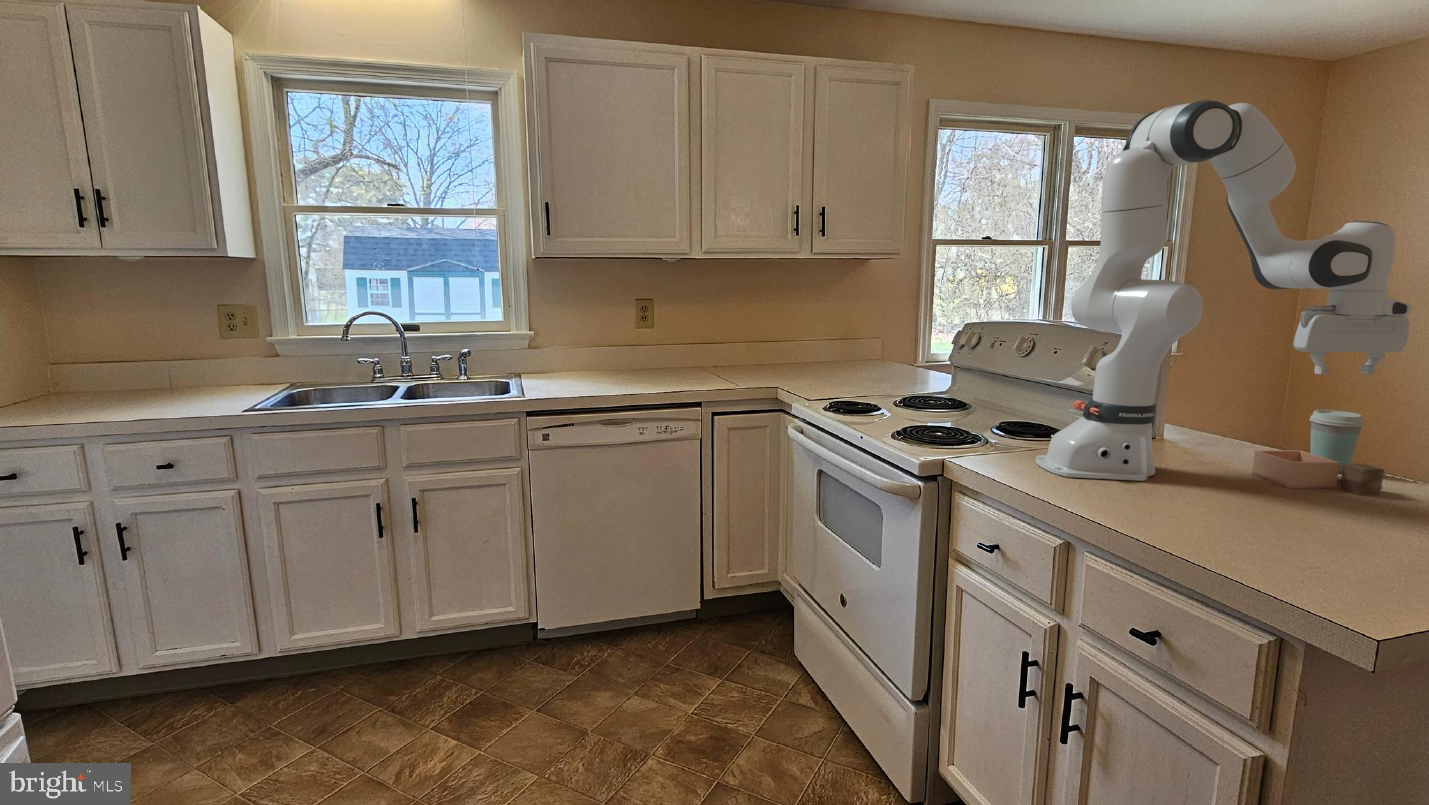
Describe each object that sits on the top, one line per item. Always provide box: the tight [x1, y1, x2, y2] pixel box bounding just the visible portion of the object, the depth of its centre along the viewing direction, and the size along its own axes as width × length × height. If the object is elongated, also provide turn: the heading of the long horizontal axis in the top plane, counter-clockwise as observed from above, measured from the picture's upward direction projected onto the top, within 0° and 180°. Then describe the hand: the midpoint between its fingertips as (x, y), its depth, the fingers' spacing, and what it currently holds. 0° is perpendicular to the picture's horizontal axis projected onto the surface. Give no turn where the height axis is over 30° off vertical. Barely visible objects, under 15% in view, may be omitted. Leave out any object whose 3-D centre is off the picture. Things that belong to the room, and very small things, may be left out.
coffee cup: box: [1309, 409, 1365, 474], centre depth 148 cm, size 9×8×12 cm
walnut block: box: [1339, 463, 1385, 496], centre depth 134 cm, size 4×4×5 cm
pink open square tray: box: [1251, 449, 1340, 489], centre depth 140 cm, size 9×9×5 cm
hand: (1344, 374), depth 145 cm, fingers open, 8 cm apart
